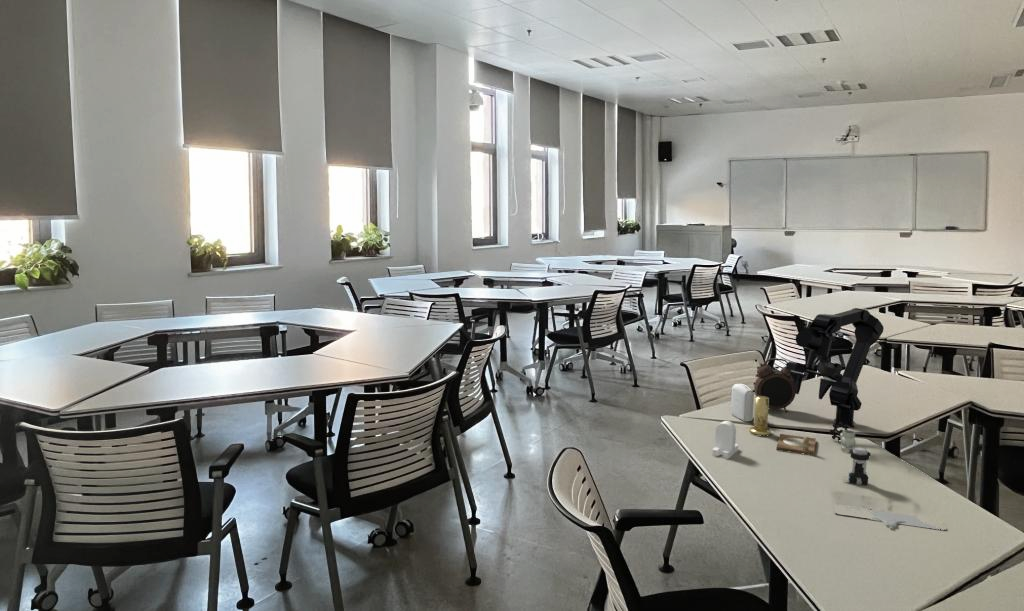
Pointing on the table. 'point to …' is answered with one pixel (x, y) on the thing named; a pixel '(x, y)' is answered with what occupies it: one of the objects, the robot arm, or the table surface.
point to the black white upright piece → (858, 466)
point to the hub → (760, 417)
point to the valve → (844, 437)
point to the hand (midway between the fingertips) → (808, 396)
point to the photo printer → (742, 402)
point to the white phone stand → (725, 440)
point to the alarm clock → (775, 385)
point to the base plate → (796, 444)
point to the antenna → (895, 519)
